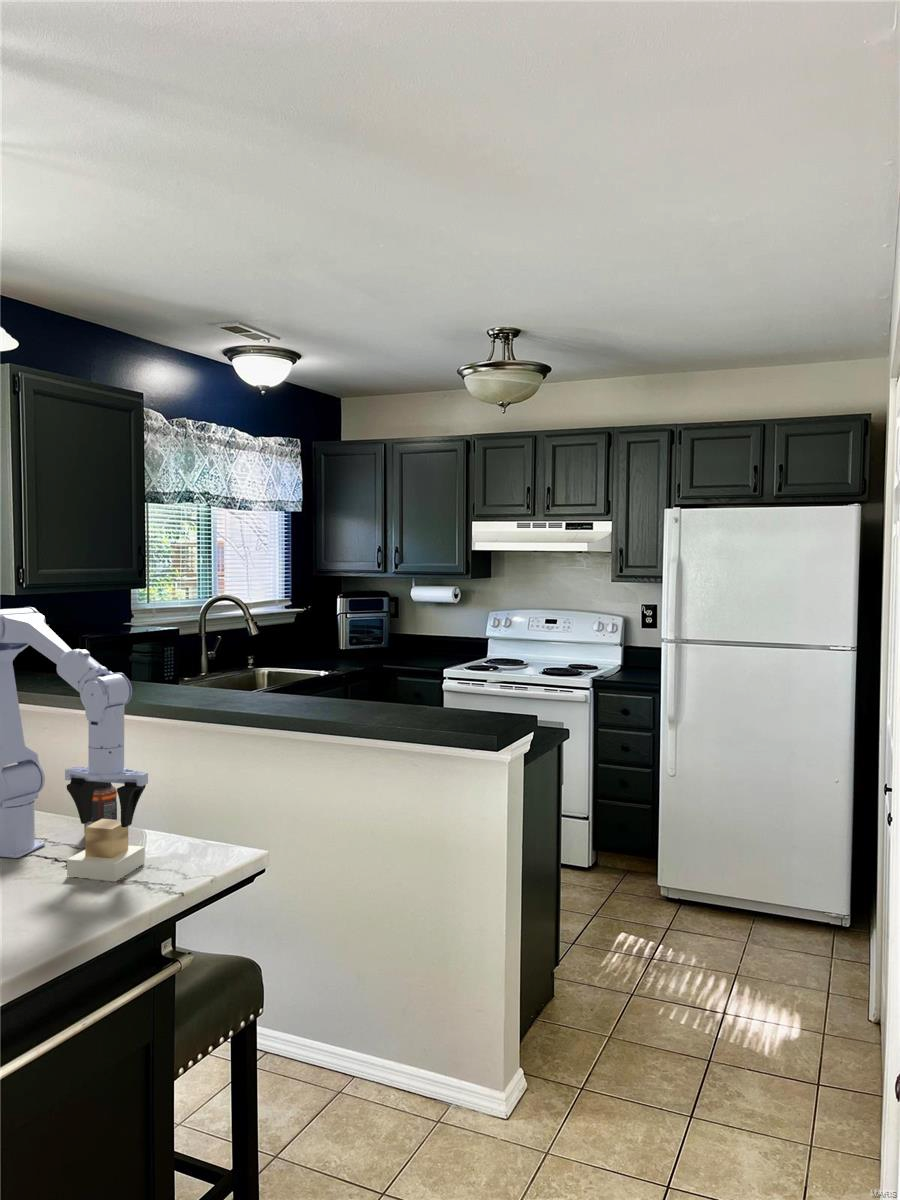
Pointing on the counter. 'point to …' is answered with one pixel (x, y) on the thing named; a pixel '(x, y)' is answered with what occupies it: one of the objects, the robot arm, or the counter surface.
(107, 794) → the supplement bottle
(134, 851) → the base block
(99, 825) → the oak block
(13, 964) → the counter surface
